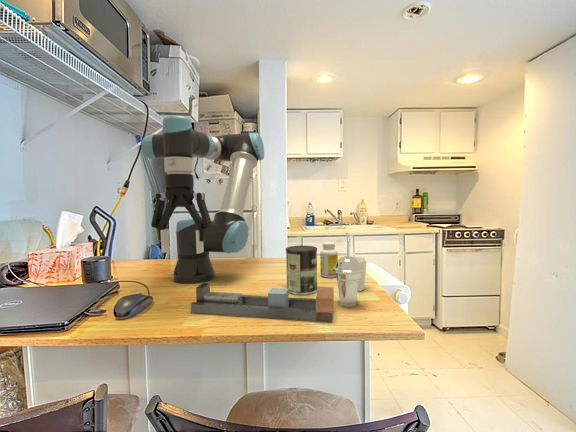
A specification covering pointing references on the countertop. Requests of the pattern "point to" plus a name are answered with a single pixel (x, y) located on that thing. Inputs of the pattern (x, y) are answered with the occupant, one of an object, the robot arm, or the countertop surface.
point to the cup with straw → (347, 278)
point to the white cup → (362, 275)
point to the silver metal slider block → (216, 296)
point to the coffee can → (301, 269)
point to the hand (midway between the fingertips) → (182, 252)
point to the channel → (259, 308)
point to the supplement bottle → (328, 260)
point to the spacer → (278, 297)
